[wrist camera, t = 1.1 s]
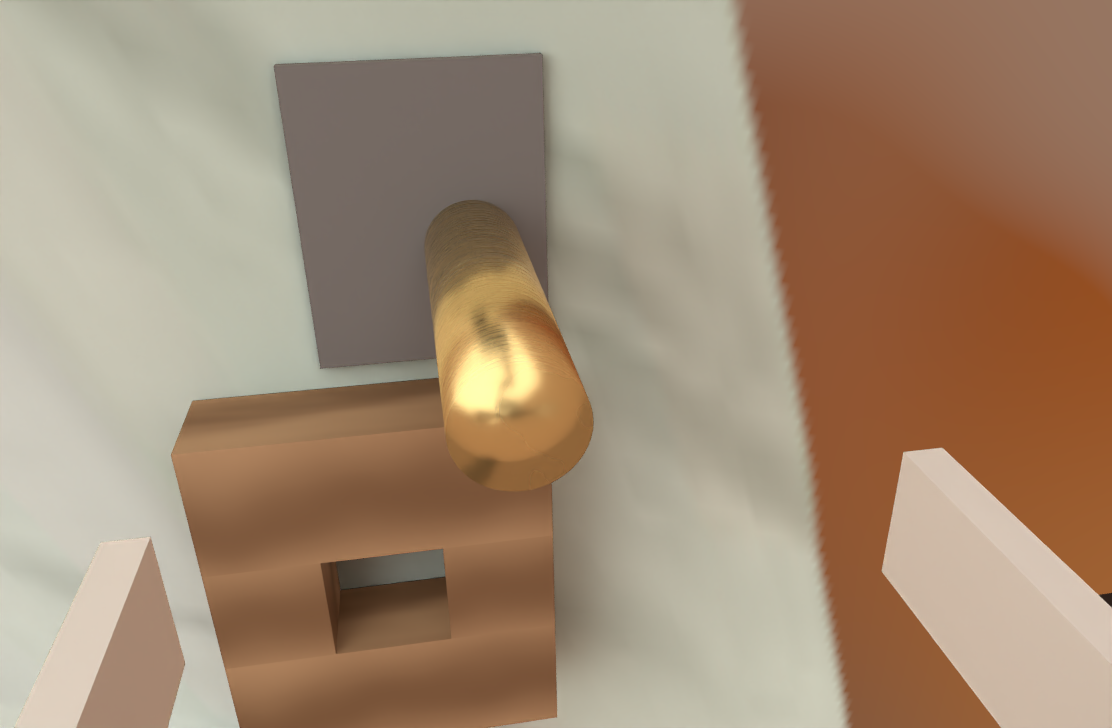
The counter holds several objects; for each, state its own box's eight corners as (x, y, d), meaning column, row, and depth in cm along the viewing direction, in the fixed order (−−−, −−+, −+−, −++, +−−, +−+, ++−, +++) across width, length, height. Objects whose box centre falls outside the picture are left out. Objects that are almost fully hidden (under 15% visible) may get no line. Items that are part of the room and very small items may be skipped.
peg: (420, 203, 29) (439, 369, 18) (518, 196, 29) (593, 355, 19) (428, 295, 30) (451, 498, 20) (522, 287, 31) (593, 483, 20)
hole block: (192, 400, 31) (170, 454, 28) (534, 369, 33) (549, 416, 29) (260, 693, 37) (248, 763, 34) (543, 653, 39) (556, 717, 36)
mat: (275, 64, 26) (273, 66, 26) (540, 53, 28) (542, 54, 27) (321, 363, 31) (320, 368, 31) (547, 343, 32) (549, 348, 32)
